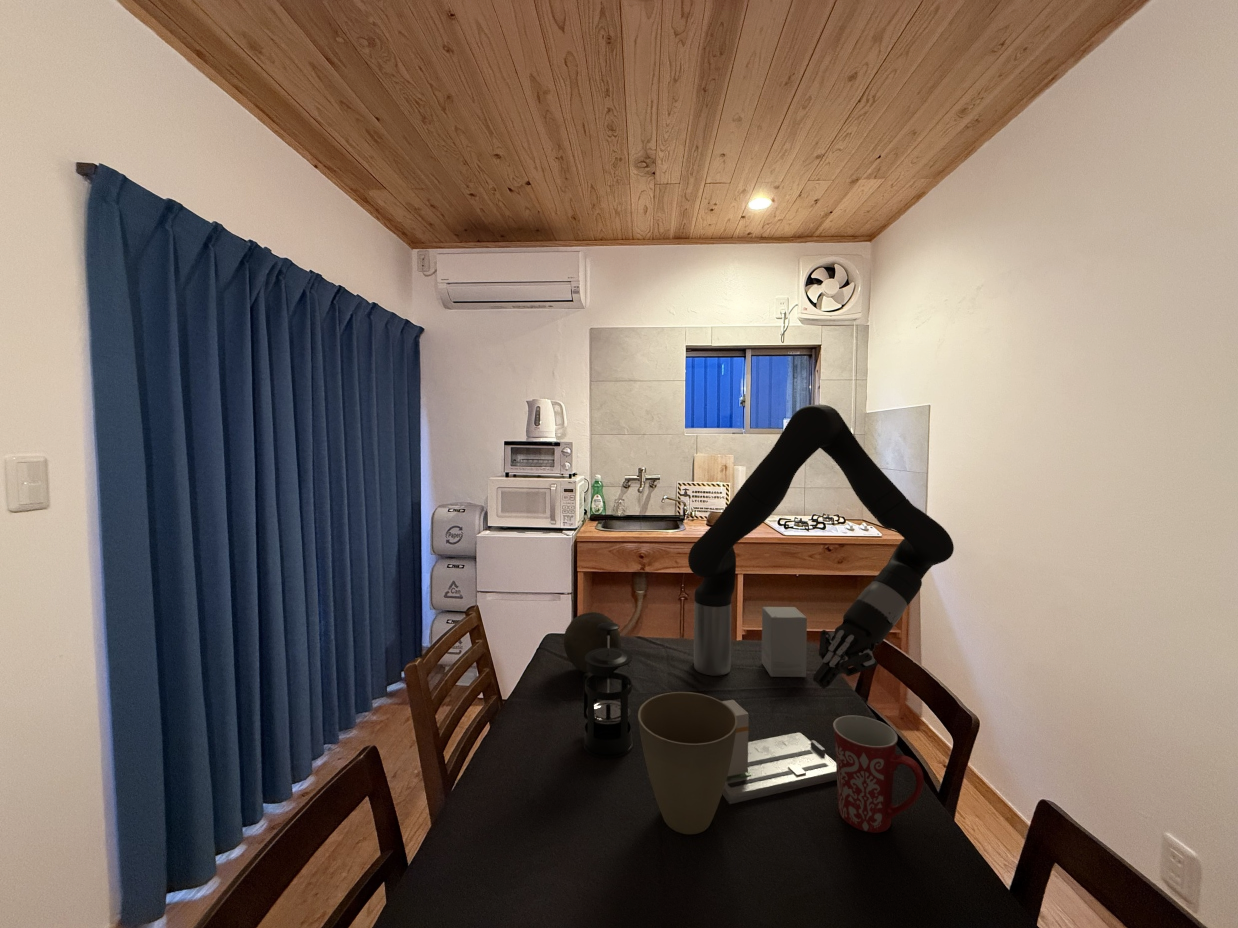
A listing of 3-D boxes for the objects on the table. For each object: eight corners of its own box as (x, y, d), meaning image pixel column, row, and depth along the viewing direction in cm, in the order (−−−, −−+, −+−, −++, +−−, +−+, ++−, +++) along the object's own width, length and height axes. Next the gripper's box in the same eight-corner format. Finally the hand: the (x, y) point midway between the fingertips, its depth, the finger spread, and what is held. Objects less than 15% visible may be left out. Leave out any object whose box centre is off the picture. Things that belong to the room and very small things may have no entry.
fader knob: (711, 758, 90) (712, 702, 90) (732, 754, 91) (733, 699, 91) (726, 776, 85) (727, 717, 85) (748, 772, 86) (748, 713, 86)
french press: (645, 746, 97) (646, 625, 97) (608, 767, 91) (609, 638, 90) (604, 721, 106) (604, 611, 105) (567, 739, 99) (568, 621, 99)
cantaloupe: (571, 660, 136) (571, 604, 136) (624, 663, 134) (624, 606, 134) (557, 684, 122) (557, 622, 122) (616, 688, 120) (616, 625, 120)
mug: (819, 812, 80) (821, 726, 79) (849, 788, 85) (850, 708, 85) (906, 864, 70) (908, 766, 69) (933, 833, 76) (935, 743, 75)
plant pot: (637, 784, 86) (637, 690, 86) (726, 786, 86) (727, 692, 85) (637, 854, 71) (638, 742, 71) (745, 857, 71) (747, 744, 70)
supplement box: (807, 677, 126) (808, 617, 126) (770, 677, 127) (771, 617, 126) (795, 662, 136) (795, 606, 135) (760, 662, 136) (761, 605, 135)
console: (696, 759, 93) (696, 746, 93) (799, 739, 100) (799, 727, 99) (729, 804, 82) (729, 788, 81) (843, 777, 88) (844, 763, 88)
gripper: (838, 589, 102) (783, 657, 99) (892, 610, 89) (831, 688, 86) (860, 613, 104) (806, 680, 100) (915, 637, 91) (856, 715, 88)
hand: (818, 684), depth 93 cm, fingers closed
